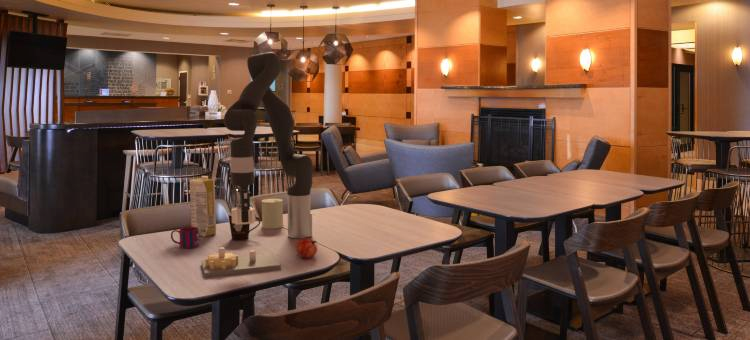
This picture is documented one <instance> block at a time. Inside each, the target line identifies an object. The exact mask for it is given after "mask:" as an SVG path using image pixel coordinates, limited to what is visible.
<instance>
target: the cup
mask: <svg viewBox="0 0 750 340" xmlns="http://www.w3.org/2000/svg"><path fill="white" fill-rule="evenodd" d="M174 232H176V233H178V234H179V241H177V240H175V239H174V236H173V235H174V234H173V233H174ZM170 239H171V241H172V242H173V243H174V244H177V245H179V246H180V248H181V249H185V250H189V249H196V248H198V247H200V244H199V241H200V236H198V228H197V227H191V226H186V227H185V226H184V227H181V228H179V230H178V229H175V230H173V231H171V233H170Z"/></svg>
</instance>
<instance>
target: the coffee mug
mask: <svg viewBox="0 0 750 340" xmlns="http://www.w3.org/2000/svg"><path fill="white" fill-rule="evenodd" d="M255 219H256V220H258V224H256V225H255V226H254V227H253V228H251V227H250V225H251V224H239V225H236V224H235V223H232V212H230V213H228V223H229V227H230V228H229V229H230V234H231V240H232V241H236V242H238V241H246V240H248V239H249V237H250V236H249V235H250V233H251V232H252V231H253V230H255V229H256V228H258V227H259V226H260V224H261V219H260V218H259V217H257V216H255ZM250 228H251V229H250Z"/></svg>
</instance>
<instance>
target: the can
mask: <svg viewBox="0 0 750 340" xmlns="http://www.w3.org/2000/svg"><path fill="white" fill-rule="evenodd" d="M283 201H284V200H283V199H282V198H264V199H262V200H261V218H262V220H261V227H262V228H263V229H266V230H277V229H280V228H283V227H284V205H283V203H284V202H283Z"/></svg>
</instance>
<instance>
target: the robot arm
mask: <svg viewBox="0 0 750 340" xmlns="http://www.w3.org/2000/svg"><path fill="white" fill-rule="evenodd" d="M246 65H247V69H248V73H249V75H250V77H251V80H252V81H250V82H249V83H247V85H246V86H245V87H244V88H243V90H242V91H241V92H240V95H239V97H238V99H237V100H236V101H235V102H234V103H233V104H232V105H231V106H229V108H228V109H227V110H226V112H225V114H224V117H223V124H224V126H225V128H226V129H227V130H229V131H230V132H231V131H232V132H244V133H243V135H242V136H241V137H237V138H233V139H232V140H231V141H230V184H231V185H232V186H235V187H236V189H235V190H236V202H237V206H238V208H239V207H241V219H242V222H243V223H244V222H248V221H249V216H248V211H249V210H250V207H251V206H250V205H251V204H250V203H251V202H250V201H251V199H250V195H251V191H250V189H249V187H248V186H251V185H252V186H253V185H255V163H254V153H253V152H254V149H253V148H254V147H253V145H254V137H255V133H256V129H257V125H258V121H259V120H258V116H257V112H258V109H259V107H260V105H261V102H262V106H263V108H264V112H265V116H266V119H267V121H268V124H269V127H270V130H271V132H272V135H273V139H274V141H275V144H276V148H277V150H278V151H277V152H278V155H279V159H280V164H281V167H282V170H283V172H284V174H285V175H286V176H288V177H292V178H295V182H294V184H292V185H289V186H287V191H286V192H287V193H286V194H287V197H286V198H287V236H288V238H290V239H291V238H292V239H302V238H309V237H313V213H312V212H311V191H312V190H311V189H312V188H313V173H314V172H313V171H314V167H313V161H312V158H311V157H310V156H309V155H307V154H298V153H296V151H295V149H294V147H293V141H292V138H293V134H294V130H295V129H294V127H295V120H294V117H293V115H292V111H291V109H290V106H289V104H287V102H285V100H284V99H282V98H281V97H280V96H279V95H278V94H277V93H275V92H274V91H273V90H272V88H271V86H272V84H273V83H274V82H275V81H276V79H277V78H278V77H279V75H280V74H281V69H282V64H281V60H280V57H279V55H278V54H277V53H275V52H273V51H267V52H262V53H257V54H251V55H250V56H248V58H247V60H246Z"/></svg>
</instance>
